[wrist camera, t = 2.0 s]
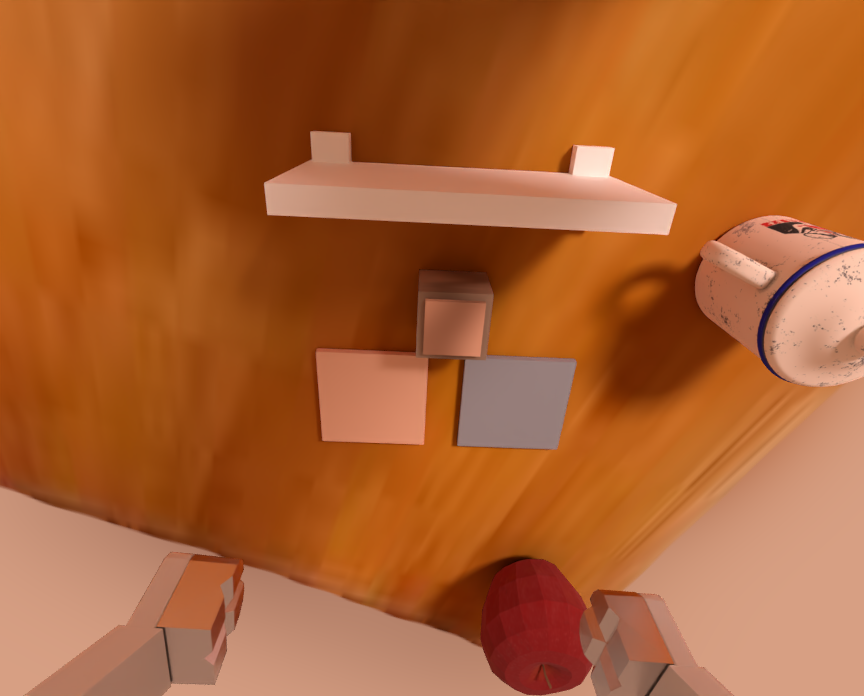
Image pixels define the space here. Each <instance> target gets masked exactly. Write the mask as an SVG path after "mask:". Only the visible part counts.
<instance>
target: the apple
mask: <svg viewBox="0 0 864 696" xmlns="http://www.w3.org/2000/svg"><path fill="white" fill-rule="evenodd" d="M585 610H587V608H586V606H585V604H584V602H583V600H582V598H581V596H580V595H579V594H578V592H577V591H576V590H575V589H574V587H573V586H572V585H571V584H570V583H569V581H568V580H567V579H566V578H565V577H564V575H563V574H562V573H561V572H560V571H559V569H558V568H557V567H556V566H555V565H554V564H552V563H550V562H548V561H546V560H543V559H524V560H520V561H517V562H515V563H512V564H510V565H508V566H505V567H504V568H502V569H501V570H500V571H499V572H498V573H496V574H495V576H494V578H493V580H492V582H491V585H490V588H489V591H488V594H487V597H486V600H485V603H484V606H483V609H482V623H481V643H482V646H483V650H484V653H485V656H486V658H487V661H488V663H489V665H490V668H491V670H492V672H493V673H494V674H495V675H496V676H497V677H499V678H500V679H501V680H502V681H503V682H504V683H506V684H508V685H509V686H510V687H512V688H513V689H515V690H517V691H520V692H522V693H524V694H527V695H546V694H551V693H556V692H561V691H565V690H569V689H572V688H574V687H576V686H578V685H580V684H581V683H582V682H583V680H584V679H585V677H586V676H587V674H588V672H589V671H590V669H591V667H592V665H593V664H592V663H591V662H590V661H589V660H588V659H587V658H586V656H585V655H584V653H583V649H582V646H581V641H580V634H579V629H580V619H581V617H582V615H583V612H584V611H585Z"/></svg>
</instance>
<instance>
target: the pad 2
mask: <svg viewBox="0 0 864 696" xmlns="http://www.w3.org/2000/svg"><path fill="white" fill-rule="evenodd" d="M576 363H577V362H576V360H575V359H565V358H541V357H517V356H493V355H487V356H486V360H465V363H464V373H463V384H462V394H461V405H460V415H459V426H458V436H457V446H477V447H504V448H532V449H557V448H558V443H559V439H560V434H561V430H562V426H563V421H564V417H565V412H566V408H567V403H568V399H569V394H570V390H571V386H572V381H573V377H574V372H575V368H576Z"/></svg>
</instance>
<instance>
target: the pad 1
mask: <svg viewBox="0 0 864 696" xmlns="http://www.w3.org/2000/svg"><path fill="white" fill-rule="evenodd" d="M316 363H317V376H318V390H319V403H320V416H321V429H322V441H339V442H367V443H394V444H422V445H424V431H425V413H426V394H427V375H428V358H416V352H398V351H374V350H350V349H326V348H317V350H316Z"/></svg>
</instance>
